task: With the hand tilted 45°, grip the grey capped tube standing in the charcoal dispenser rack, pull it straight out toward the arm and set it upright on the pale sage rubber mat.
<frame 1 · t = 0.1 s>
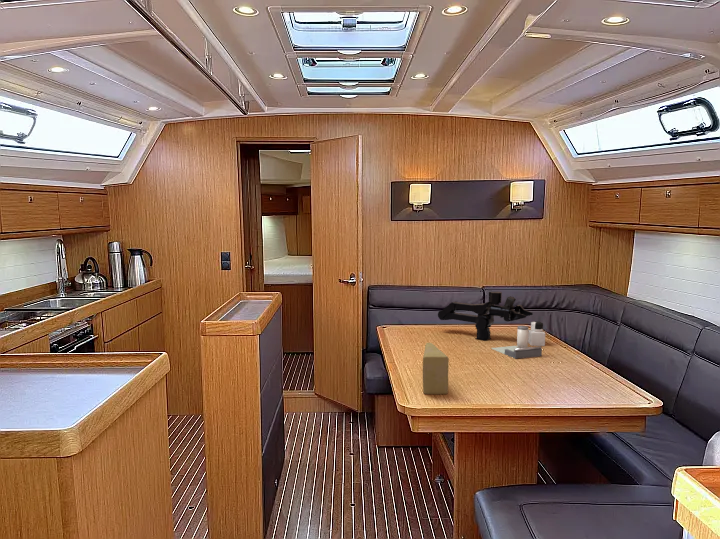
hand: (529, 315, 253), 17 cm above the table, tool horizontal, fingers open, 9 cm apart
dispenser rack: (522, 354, 239), on the table
medicine bottle: (536, 344, 259), on the table
grey capped tube: (522, 354, 239), resting in dispenser rack
cheese: (431, 385, 195), on the table
sage mat: (510, 350, 248), on the table
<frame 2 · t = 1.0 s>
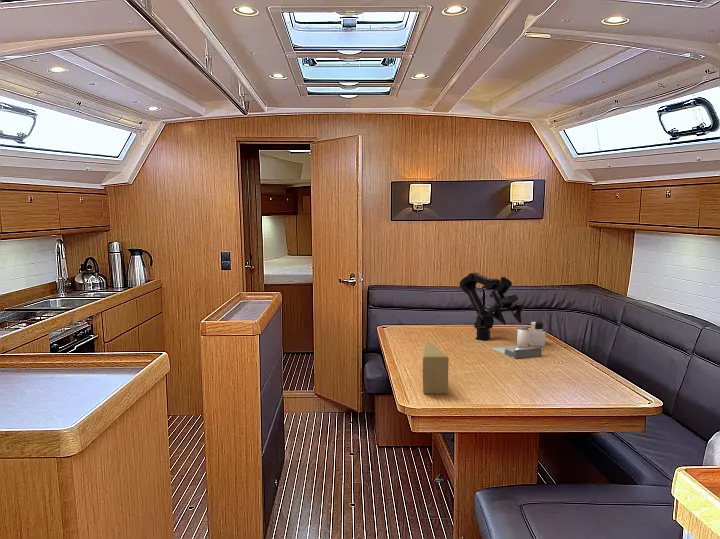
hand: (513, 323, 245), 14 cm above the table, tool tilted 45°, fingers open, 9 cm apart
nothing on the table moved.
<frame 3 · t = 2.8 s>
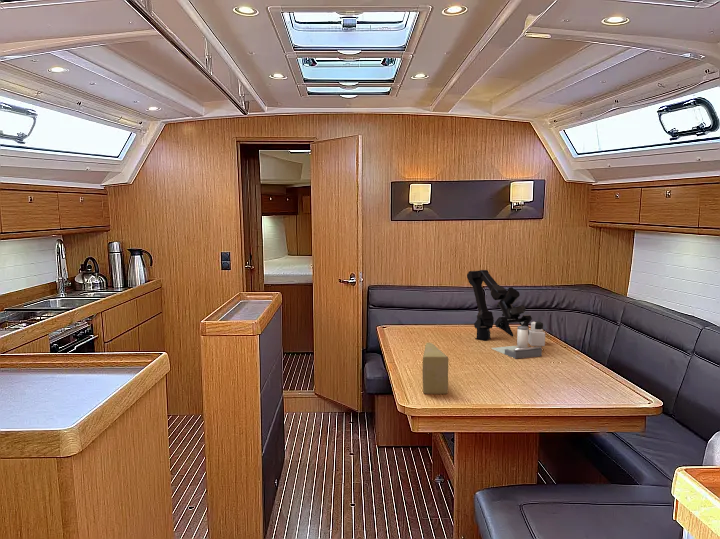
hand: (520, 335, 239), 9 cm above the table, tool tilted 45°, fingers open, 9 cm apart
nothing on the table moved.
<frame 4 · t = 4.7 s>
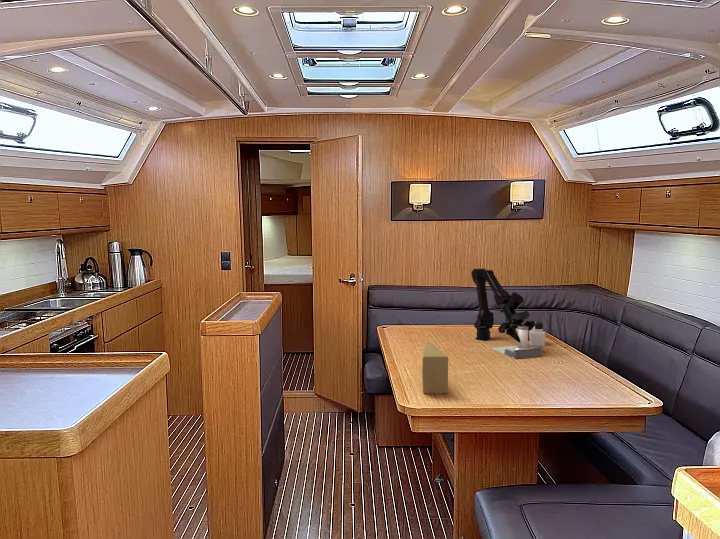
hand: (524, 341, 237), 7 cm above the table, tool tilted 45°, fingers closed on grey capped tube, 5 cm apart
grey capped tube: (522, 354, 239), resting in dispenser rack, touching gripper
everything else where it was.
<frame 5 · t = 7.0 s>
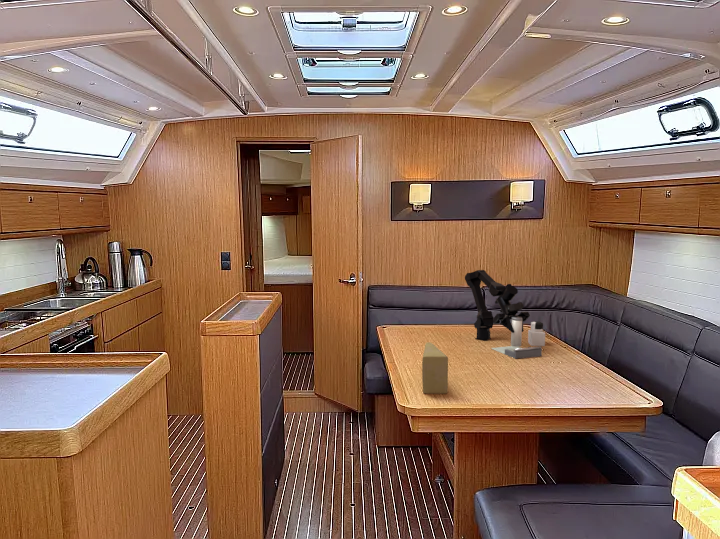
hand: (518, 332, 241), 11 cm above the table, tool tilted 45°, fingers closed on grey capped tube, 5 cm apart
grey capped tube: (515, 345, 243), point 4 cm above the table, touching gripper
everything else where it was.
when the fingers open (8 cm above the table, at t = 9.5 s): grey capped tube drops 1 cm, resting on sage mat.
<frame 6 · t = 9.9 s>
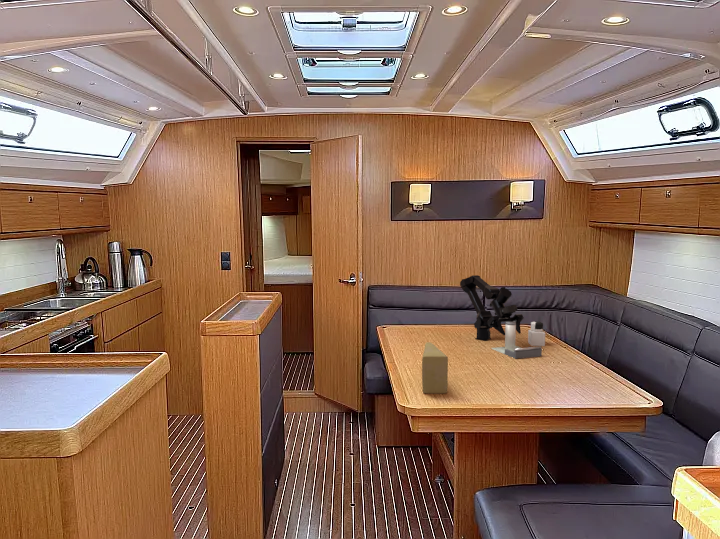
hand: (512, 334, 245), 9 cm above the table, tool tilted 45°, fingers open, 9 cm apart
grey capped tube: (509, 349, 248), resting on sage mat
everything else where it was.
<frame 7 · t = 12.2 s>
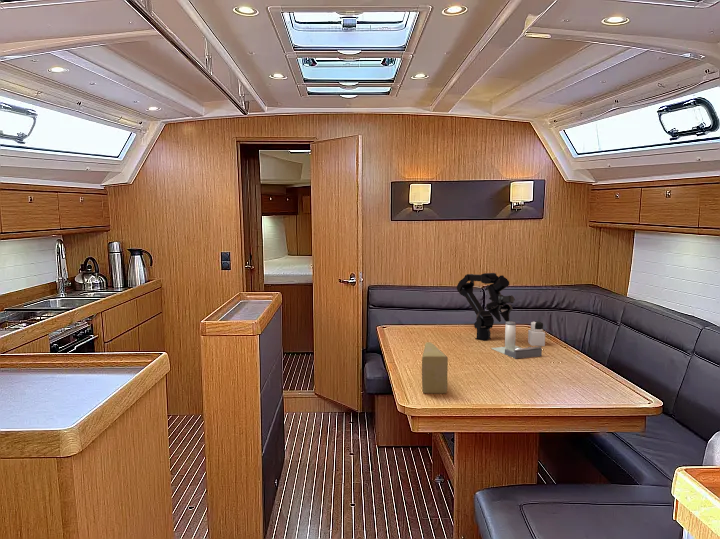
hand: (504, 322, 253), 13 cm above the table, tool tilted 30°, fingers open, 9 cm apart
nothing on the table moved.
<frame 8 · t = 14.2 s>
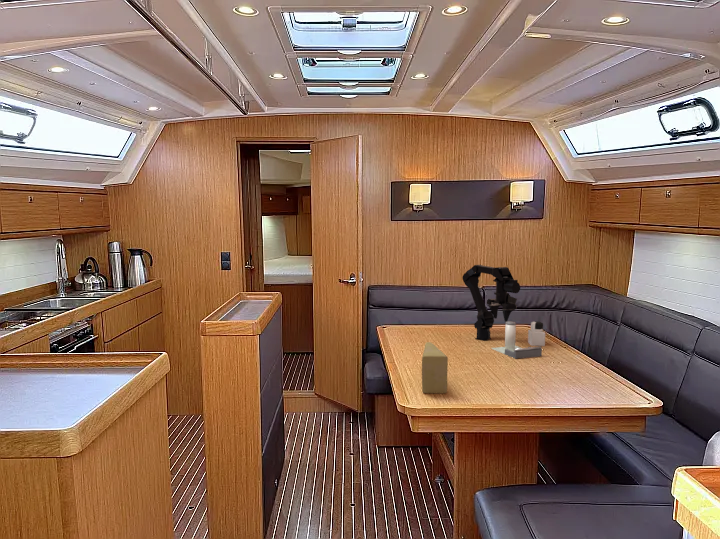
hand: (500, 320, 258), 13 cm above the table, tool pointing down, fingers open, 9 cm apart
nothing on the table moved.
at the end: grey capped tube inside the target area on the sage mat (0.1 cm from its centre), point 0.3 cm above the sage mat's base; grey capped tube tilted 0°; the gripper is holding nothing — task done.
